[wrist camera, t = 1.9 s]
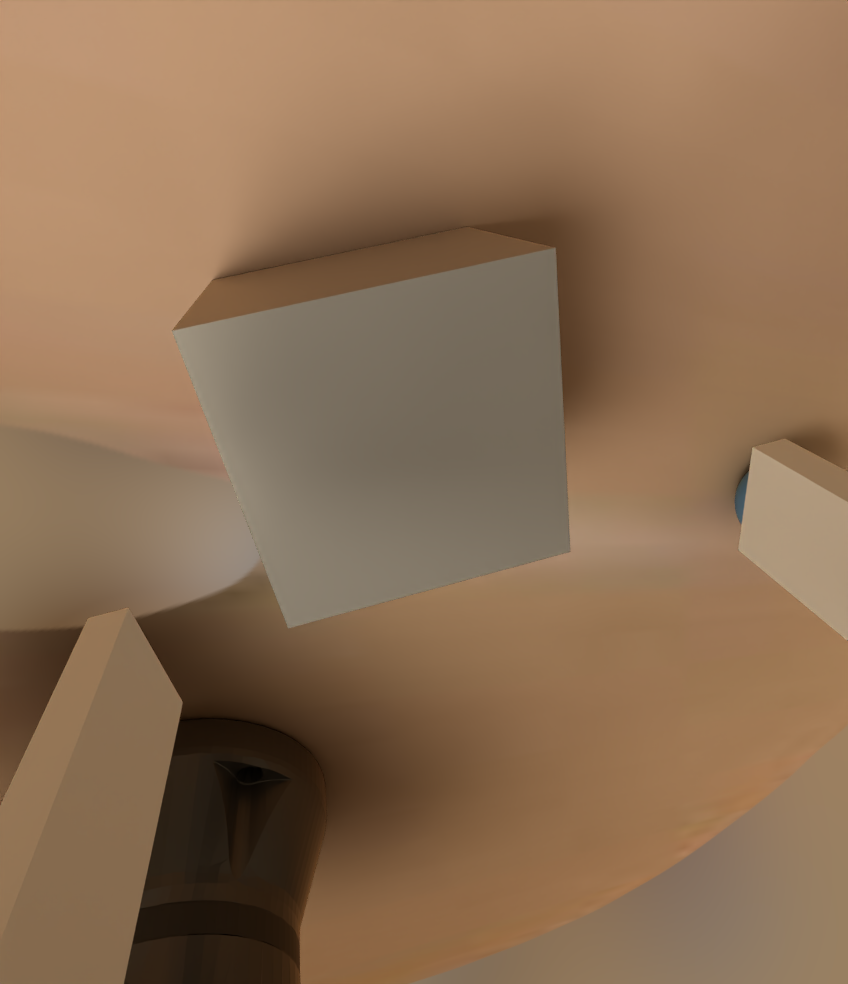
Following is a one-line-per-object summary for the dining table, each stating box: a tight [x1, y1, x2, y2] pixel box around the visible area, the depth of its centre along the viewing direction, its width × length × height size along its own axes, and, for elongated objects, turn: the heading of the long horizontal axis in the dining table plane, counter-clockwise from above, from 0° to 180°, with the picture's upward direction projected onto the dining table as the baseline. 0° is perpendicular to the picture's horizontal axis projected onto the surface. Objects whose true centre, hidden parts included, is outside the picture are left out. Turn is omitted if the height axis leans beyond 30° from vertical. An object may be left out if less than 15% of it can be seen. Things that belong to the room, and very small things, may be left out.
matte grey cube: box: [172, 227, 570, 628], centre depth 21 cm, size 10×10×9 cm
